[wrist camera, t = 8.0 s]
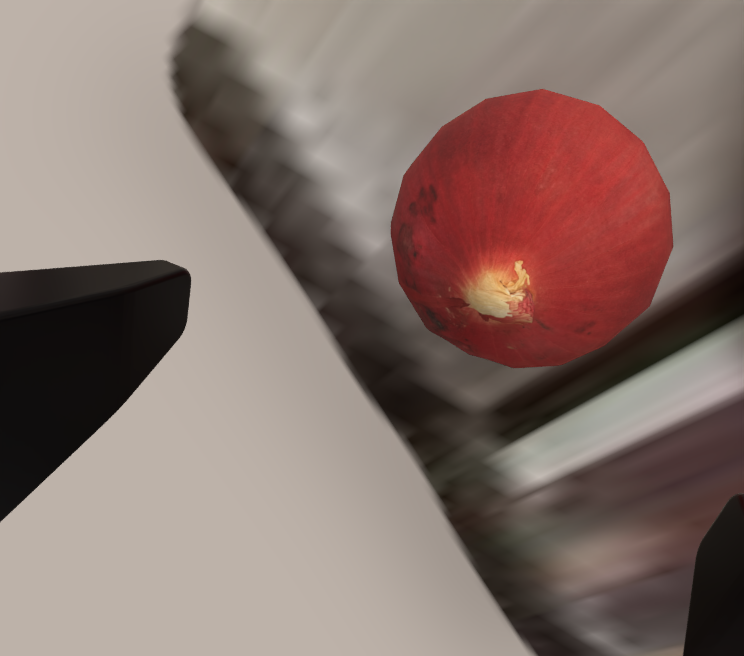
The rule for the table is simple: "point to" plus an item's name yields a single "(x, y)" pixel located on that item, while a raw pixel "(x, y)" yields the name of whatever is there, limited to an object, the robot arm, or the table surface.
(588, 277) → the onion
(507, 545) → the table surface
